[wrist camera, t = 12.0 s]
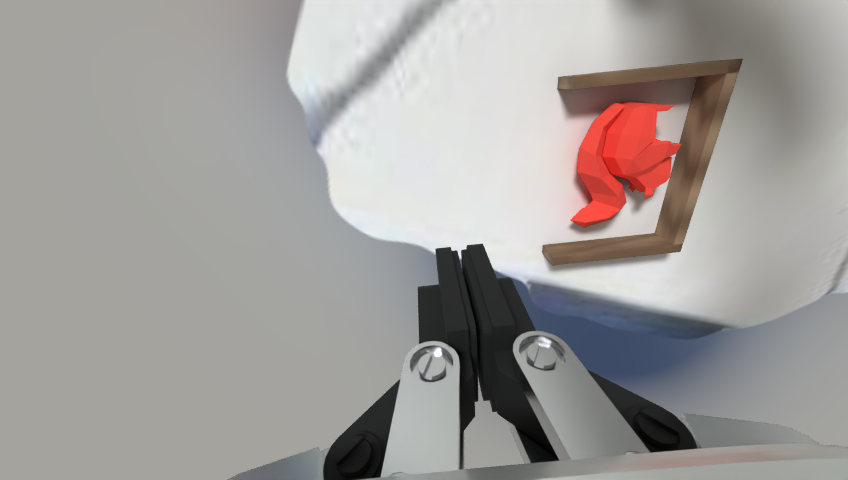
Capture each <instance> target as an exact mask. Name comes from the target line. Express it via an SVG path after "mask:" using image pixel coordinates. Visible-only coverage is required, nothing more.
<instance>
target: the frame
mask: <svg viewBox="0 0 848 480" xmlns="http://www.w3.org/2000/svg"><path fill="white" fill-rule="evenodd" d="M742 60H743V59H733V60H719V61H708V62H698V63H688V64H679V65H669V66H659V67H650V68H640V69H630V70H621V71H611V72H601V73H592V74H582V75H572V76H563V77H558V88H557V89H581V88H591V87H601V86H610V85H620V84H630V83H639V82H649V81H659V80H668V79H678V78H688V77H697V76H698V78H697V81H696V85H695V88H694V92H693V96H692V99H691V103H690V107H689V110H688V114H687V118H686V121H685V125H684V129H683V132H682V136H681V140H680V143H679V144H682V145H681V146H680V148H679V149H678V151H677V154H676V158H675V162H674V165H673V169H672V173H671V176H670V180H669V184H668V187H667V191H666V195H665V198H664V202H663V206H662V209H661V213H660V217H659V220H658V224H657V228H656V231H655V233H653V234H644V235H634V236H625V237H615V238H606V239H596V240H587V241H577V242H568V243H558V244H549V245H543V250H542V253H543V254H544V255H545V257H546V258H547V259H548V260H549V262H550V263H551V264H552V265H559V264H568V263H578V262H587V261H597V260H606V259H616V258H625V257H635V256H645V255H654V254H664V253H673V252H680V251H681V248H682V245H683V242H684V239H685V236H686V233H687V230H688V226H689V223H690V220H691V217H692V214H693V211H694V208H695V205H696V202H697V199H698V196H699V193H700V189H701V186H702V183H703V180H704V177H705V174H706V171H707V168H708V165H709V162H710V159H711V156H712V152H713V149H714V146H715V143H716V140H717V137H718V134H719V131H720V128H721V125H722V122H723V119H724V115H725V112H726V109H727V106H728V103H729V100H730V97H731V94H732V91H733V88H734V85H735V82H736V78H737V75H738V72H739V69H740V66H741V63H742Z"/></svg>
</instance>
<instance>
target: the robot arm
mask: <svg viewBox="0 0 848 480" xmlns="http://www.w3.org/2000/svg"><path fill="white" fill-rule="evenodd" d="M461 255H462V268H461V264H460V260H459V256H458V252H457V251H451V247H447V248H437V249H436V258H437V269H438V279H439V285H431V286H422V287H418V313H419V345H417V346H416V347H414V348H413V349H411V351H410V352H409V353H408V354H407V356H406V359H405V361H404V365H403V370H402V375H401V379H400V380H399V381H398V382H397V383H395V385H393V386H392V387H391V388H390V389H389V390H388V391H387V392H386V393H385V394H384V395H383V396H382V397H381V398H380V399H379V400H377V401H376V402H375V403H374V404H373V405H372V406H371V407H370V408H369V409H368V410H367V411H366V412H365V413H364V414H363V415H362V416H361V417H360V418H359V419H357V420H356V422H354V423H353V424H352V425H351V426H350V427H349V428H348V429H347V430H346V431H345V432H344V433H343V434H342V435H340V436H339V437H338V439H337V440H336V441H335V442H334V443H333V445H332V446H331V447H330V448H327V449H324V450H321V451H320V450H319V448H318V447H316V448H313V449H311V450H307V451H305V452H302V453H299V454H296V455H293V456H290V457H287V458H284V459H281V460H278V461H275V462H272V463H269V464H266V465H263V466H260V467H257V468H254V469H251V470H248V471H246V472H243V473H240V474H237V475H235V476H233V477H232V478H230V479H228V480H848V447H843V446H836V445H823V444H819V443H818V442H816V441H815V440H813V439H812V438H810V437H809V436H807V435H805V434H802V433H801V432H799V431H797V430H794V429H792V428H789V427H785V426H781V425H777V424H769V423H761V422H753V421H745V420H737V419H728V418H720V417H712V416H704V415H696V414H688V413H683V415H682V416H681V417H676V416H675V415H673V414H672V413H670V412H669V411H667V410H665V409H664V408H662V407H660V406H658V405H656V404H654V403H652V402H650V401H648V400H646V399H644V398H642V397H640V396H638V395H636V394H634V393H632V392H630V391H628V390H626V389H624V388H622V387H620V386H618V385H616V384H614V383H612V382H610V381H608V380H606V379H604V378H602V377H600V376H598V375H596V374H594V373H592V372H590V371H588V370H586V368H585V367H584V366H583V365H582V364H581V362H580V361H579V359H578V358H577V357H576V355H575V354H574V353H573V352H572V350H571V349H570V348H569V346H568V345H567V344H566V343H565V342H564V341H563V340H562V339H560V338H558V337H557V336H555V335H552V334H550V333H547V332H542V331H536V330H535V328H534V326H533V323H532V321H531V319H530V317H529V315H528V313H527V311H526V309H525V307H524V305H523V302H522V300H521V298H520V296H519V294H518V292H517V290H516V288H515V285H514V284H513V281H512V280H511V278H499V279H497V278H496V275H495V273H494V270H493V268H492V265H491V263H490V261H489V258H488V256H487V253H486V251H485V248H484V246H483V244H476V245H467V249H466V250H462V251H461ZM478 378H479V383H480V388H481V392H482V397H483V400H484V401H486V400H490V403H491V407H492V411H493V412H496V411H497V413H498V414H499V415H500V416H501V417H503V418H504V419H506V420H507V421H509V426H510V430H511V433H512V435H513V437H514V440H515V442H516V444H517V447H518V449H519V451H520V454H521V456H522V458H523V461H524V463H525V464H518V465H507V466H496V467H485V468H474V469H464V430H465V429H466V427H467V426H468V425H469V423H470V422H471V421H472V419H473V418H474V417H475V402H477V401H478Z"/></svg>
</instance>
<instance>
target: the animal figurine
mask: <svg viewBox="0 0 848 480" xmlns="http://www.w3.org/2000/svg"><path fill="white" fill-rule="evenodd" d="M672 107H674V105H659V104H656V103H639V102H621V103H613V104H611V105H610V106H609V107H608V108H607V109H606V110H605V111H604V112H603V113H602V114H600V115H599V116H598V117H597V118H596V119H595V120H594V122H593V123H592V124H591V126H590V128H589V130H588V132H587V134H586V136H585V138H584V140H583V142H582V144H581V146H580V148H579V156H578V167H577V172H578V174H579V176H580V177H581V179H582V180H583V182H584V184H585V185H586V187H587V189H588V190H589V192H590V194H591V196H592V199H593V201H592V202H591V203H590V204H589V205H588V206H586V207H585V208H583V209H581V210H580V211H579V212H578V213H577V214H576V215H575V216H574V217H573V218H572V219H571V220H570V221H572V222H574V223H576V224H578V225H580V226H582V227H587V226H590V225H593V224H597V223H600V222H603V221H606V220H609V219H612V218H613V217H614V216H615V215H616V214H617V213H618V212H619V211H620V210H621V209H622V207H623V206H624V205H625V203H626V198H625V193H624V188H623V184H622V183H620V182H619V181H618V180H617V179H616V178H614V177H613V176H612V175H615V176H618V177H622V178H625V179H628V180H629V181H630V182H631V184H630V186H629V188H630V189H631V191H632V192H633V191H634V190H635V189H637V190H638V191H639V192H645V193H644V196H645V199H646V198H648V197H650V196H653V192H654V188H656V187H658V186H659V185H661V184H663V183H664V182H666V181H667V180H668V179H669V177H670V172H671V157H669V156H672V155H674V154H676V152H677V151H678V149H679V148H680V146H681V145H682V144H678V143H671V142H670V141H660V140H657V139H655V135H656V119H657V111H667V110H669V109H671V108H672ZM601 156H602V157H603V159H604V161H605V163H606V165H607V167H608V169H609V171H610V173H611V174H612V175H611V174H610V173H609V171H608V169H607V167H606V165H605V163H604V161H603V159H602V157H601Z"/></svg>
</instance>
